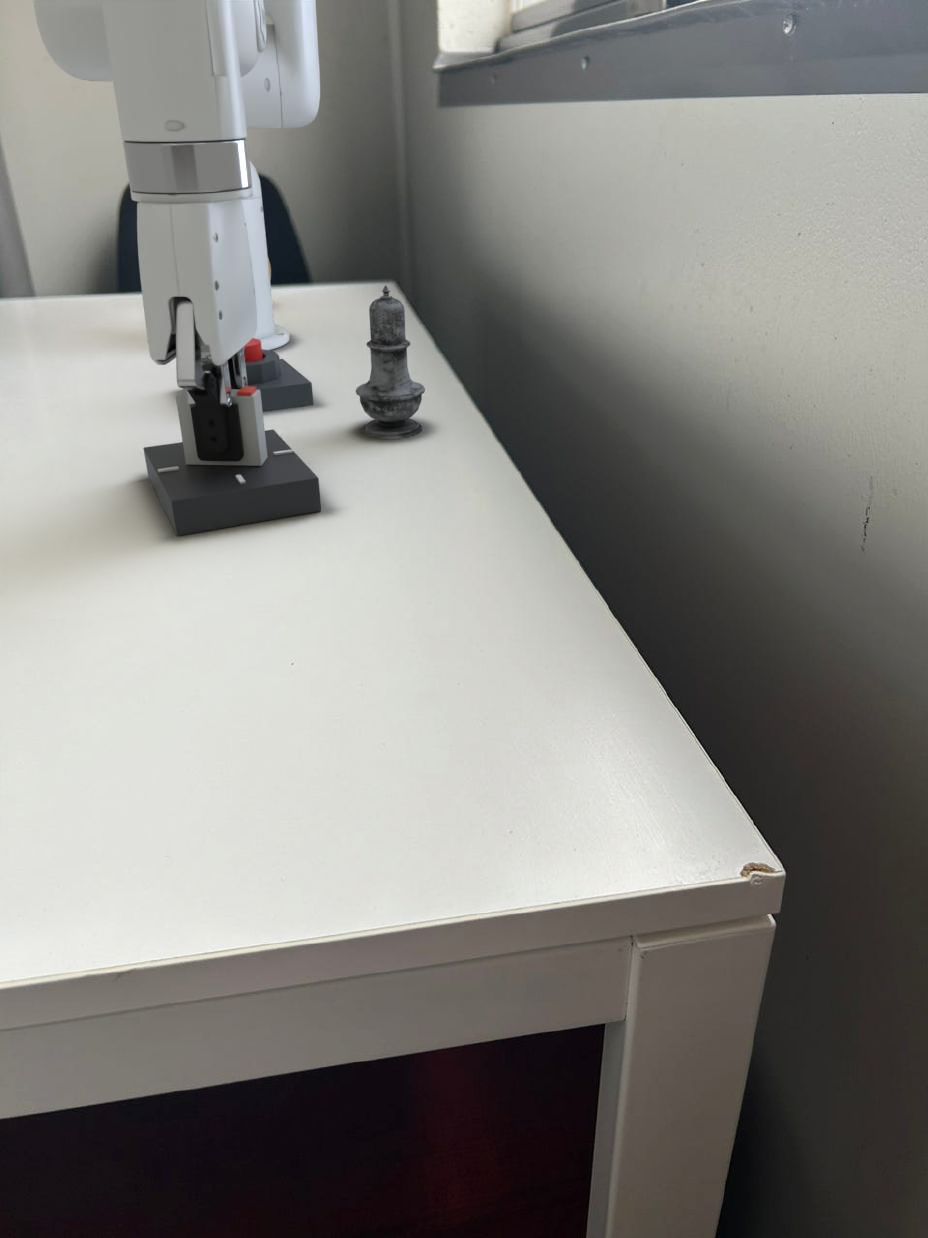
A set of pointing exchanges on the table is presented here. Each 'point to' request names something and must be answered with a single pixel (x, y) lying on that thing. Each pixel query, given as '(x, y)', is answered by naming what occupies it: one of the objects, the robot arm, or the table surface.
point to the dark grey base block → (231, 488)
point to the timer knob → (249, 423)
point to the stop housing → (278, 383)
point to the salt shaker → (389, 374)
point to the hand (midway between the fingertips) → (226, 451)
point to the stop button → (253, 350)
